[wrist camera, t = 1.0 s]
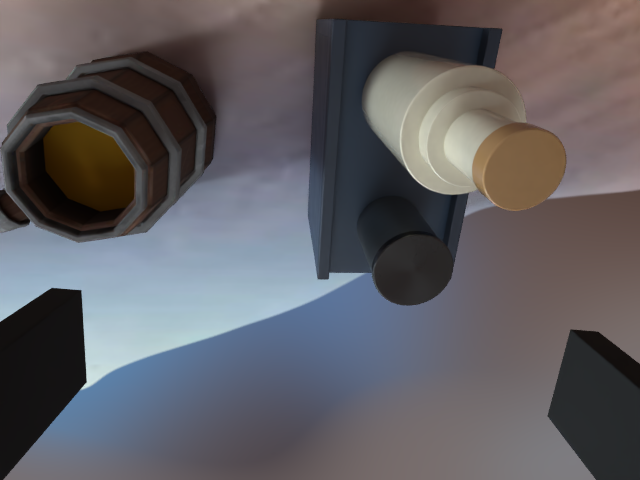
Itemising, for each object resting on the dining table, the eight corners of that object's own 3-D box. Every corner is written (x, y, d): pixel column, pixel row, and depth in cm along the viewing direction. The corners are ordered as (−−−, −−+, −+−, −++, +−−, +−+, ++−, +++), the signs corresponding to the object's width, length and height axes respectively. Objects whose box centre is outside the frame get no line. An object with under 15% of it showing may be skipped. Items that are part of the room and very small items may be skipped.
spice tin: (358, 193, 31) (377, 234, 25) (426, 194, 31) (460, 235, 26) (352, 255, 33) (369, 306, 27) (416, 255, 34) (446, 305, 28)
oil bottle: (365, 48, 27) (457, 76, 13) (455, 53, 28) (635, 85, 14) (357, 141, 29) (428, 247, 16) (440, 144, 30) (579, 248, 16)
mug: (162, 23, 35) (91, 25, 22) (241, 158, 40) (222, 226, 27) (0, 115, 37) (-158, 168, 24) (95, 232, 42) (9, 331, 29)
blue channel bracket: (316, 19, 36) (333, 18, 25) (437, 26, 37) (503, 28, 26) (307, 215, 43) (317, 279, 33) (409, 217, 44) (451, 280, 34)
